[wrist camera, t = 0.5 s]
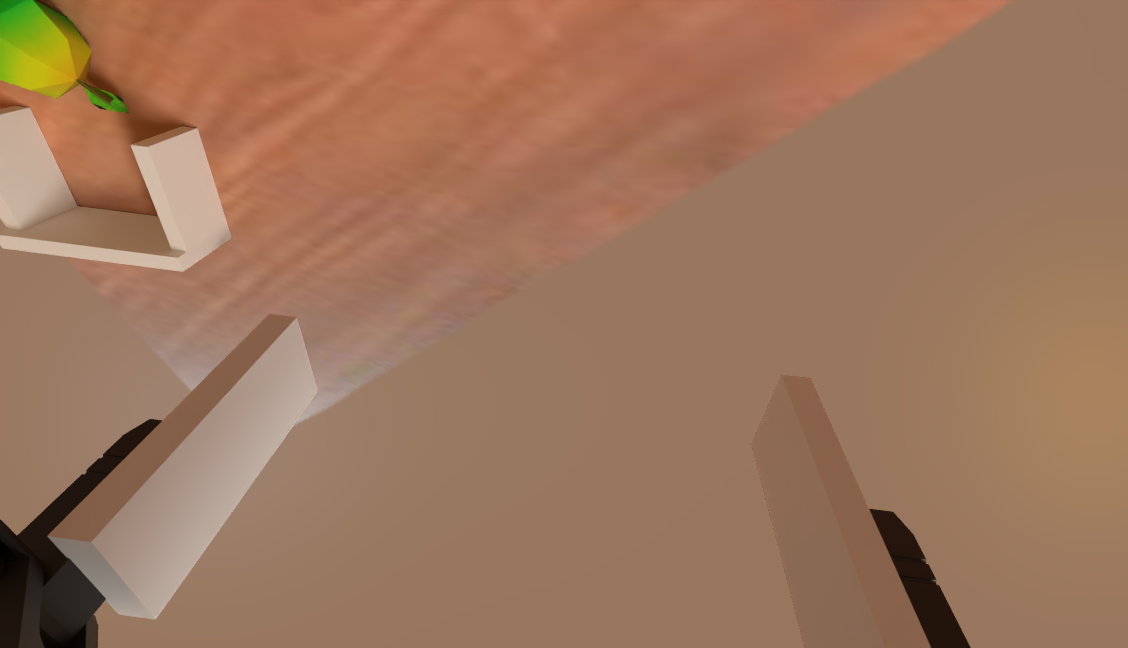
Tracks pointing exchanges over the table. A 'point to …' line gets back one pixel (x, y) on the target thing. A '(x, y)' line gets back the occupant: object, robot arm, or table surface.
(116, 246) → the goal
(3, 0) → the apple
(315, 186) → the table surface
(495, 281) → the table surface
